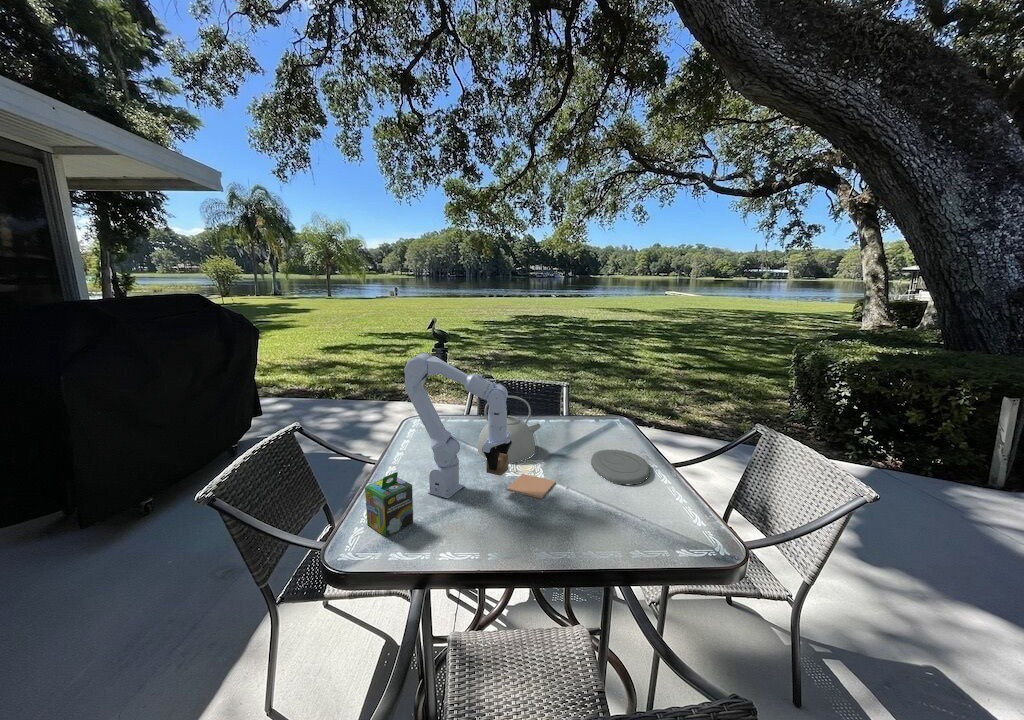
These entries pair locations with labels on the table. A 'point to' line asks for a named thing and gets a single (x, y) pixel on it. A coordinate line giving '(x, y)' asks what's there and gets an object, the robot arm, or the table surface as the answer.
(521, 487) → the terracotta tile
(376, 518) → the chalk box
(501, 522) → the table surface
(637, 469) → the frisbee
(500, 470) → the walnut block
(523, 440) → the kettle
